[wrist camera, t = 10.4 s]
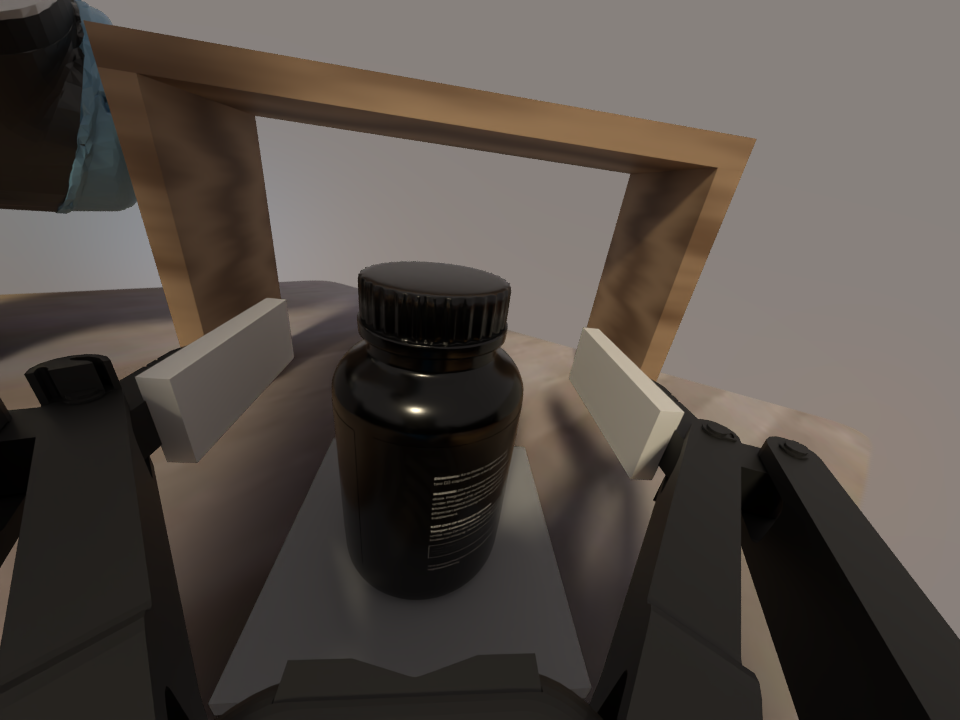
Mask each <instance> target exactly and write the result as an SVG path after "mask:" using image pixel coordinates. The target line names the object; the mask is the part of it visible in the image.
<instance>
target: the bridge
mask: <svg viewBox="0 0 960 720" xmlns="http://www.w3.org/2000/svg"><path fill="white" fill-rule="evenodd" d="M83 21H84V25H85V28H86V31H87V35H88V38H89V41H90V45H91V48H92V51H93V55H94V58H95V62H96V65H97V68H98V72H99V75H100V78H101V82H102V85H103V88H104V92H105V95H106V98H107V102H108V105H109V108H110V112H111V115H112V119H113V122H114V125H115V129H116V132H117V135H118V139H119V142H120V145H121V149H122V152H123V155H124V159H125V162H126V165H127V169H128V172H129V176H130V179H131V182H132V186H133V189H134V192H135V196H136V199H137V202H138V206H139V209H140V212H141V216H142V219H143V222H144V226H145V229H146V232H147V236H148V239H149V242H150V246H151V249H152V253H153V256H154V259H155V263H156V266H157V269H158V273H159V276H160V279H161V283H162V286H163V290H164V293H165V296H166V300H167V303H168V306H169V310H170V313H171V316H172V320H173V323H174V326H175V330H176V333H177V336H178V340H179V343H180V347H184V346H187V345H189V344H191V343H192V342H194V341H196V340H197V339H199V338H201V337H202V336H204V335H206V334H207V333H209V332H211V331H212V330H214V329H216V328H217V327H219V326H221V325H222V324H224V323H226V322H227V321H229V320H231V319H232V318H234V317H236V316H237V315H239V314H241V313H242V312H244V311H246V310H247V309H249V308H251V307H252V306H254V305H256V304H257V303H259V302H261V301H262V300H264V299H266V298H275V299H281V296H280V289H279V282H278V275H277V268H276V260H275V254H274V247H273V239H272V232H271V226H270V219H269V212H268V205H267V198H266V190H265V183H264V176H263V169H262V162H261V155H260V148H259V142H258V134H257V127H256V121H255V116H261V117H267V118H274V119H280V120H286V121H293V122H299V123H305V124H312V125H318V126H326V127H332V128H338V129H344V130H351V131H357V132H364V133H371V134H377V135H383V136H390V137H396V138H402V139H409V140H415V141H422V142H428V143H435V144H441V145H448V146H455V147H461V148H467V149H474V150H481V151H487V152H494V153H499V154H506V155H513V156H519V157H526V158H532V159H538V160H545V161H551V162H558V163H564V164H571V165H578V166H584V167H590V168H596V169H603V170H609V171H616V172H622V173H629V174H630V178H629V181H628V185H627V188H626V192H625V195H624V199H623V202H622V206H621V209H620V213H619V216H618V220H617V223H616V227H615V231H614V234H613V238H612V241H611V244H610V248H609V251H608V255H607V258H606V262H605V266H604V269H603V273H602V276H601V279H600V283H599V286H598V290H597V294H596V297H595V300H594V304H593V307H592V311H591V315H590V318H589V322H588V325H587V328H595V329H599V330H600V331H601V332H602V333H603V334H604V335H605V336H606V337H607V338H608V339H610V340H611V341H612V342H613V343H614V344H615V345H616V346H617V347H618V348H619V349H620V350H621V351H622V352H623V353H624V354H625V355H626V356H627V357H628V358H629V359H630V360H631V361H632V362H633V363H634V364H635V365H636V366H637V367H638V368H639V369H640V370H641V371H642V372H643V373H644V374H645V375H647V376H648V377H649V378H650V379H652V380H654V381H655V382H656V381H657V378H658V376H659V373H660V371H661V368H662V366H663V364H664V361H665V359H666V356H667V354H668V352H669V349H670V347H671V344H672V342H673V340H674V337H675V335H676V332H677V330H678V327H679V325H680V323H681V320H682V318H683V315H684V313H685V310H686V308H687V306H688V303H689V301H690V299H691V296H692V294H693V291H694V289H695V286H696V284H697V282H698V279H699V277H700V274H701V272H702V270H703V267H704V265H705V262H706V260H707V258H708V255H709V253H710V250H711V248H712V245H713V243H714V240H715V238H716V236H717V233H718V231H719V229H720V226H721V224H722V221H723V219H724V217H725V214H726V212H727V209H728V207H729V204H730V202H731V200H732V197H733V195H734V192H735V190H736V188H737V185H738V183H739V180H740V178H741V175H742V173H743V171H744V168H745V166H746V163H747V161H748V159H749V156H750V154H751V151H752V149H753V147H754V144H755V142H756V139H753V138H748V137H742V136H737V135H731V134H725V133H720V132H714V131H708V130H703V129H697V128H691V127H686V126H680V125H674V124H668V123H663V122H657V121H652V120H646V119H640V118H635V117H629V116H623V115H618V114H612V113H606V112H600V111H595V110H589V109H583V108H578V107H572V106H567V105H560V104H555V103H550V102H543V101H538V100H532V99H527V98H521V97H515V96H510V95H504V94H499V93H493V92H487V91H481V90H476V89H470V88H465V87H459V86H453V85H447V84H442V83H436V82H430V81H425V80H419V79H413V78H408V77H402V76H397V75H391V74H385V73H380V72H374V71H368V70H362V69H357V68H351V67H346V66H340V65H334V64H328V63H322V62H317V61H312V60H306V59H300V58H295V57H289V56H283V55H278V54H272V53H266V52H261V51H255V50H249V49H244V48H238V47H232V46H227V45H221V44H215V43H210V42H204V41H198V40H193V39H187V38H181V37H175V36H170V35H164V34H159V33H153V32H147V31H142V30H136V29H130V28H125V27H118V26H113V25H108V24H102V23H96V22H91V21H85V20H83Z"/></svg>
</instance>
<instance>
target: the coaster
mask: <svg viewBox="0 0 960 720" xmlns="http://www.w3.org/2000/svg"><path fill="white" fill-rule="evenodd" d="M524 653H535V656H536V662H537V667H538V673H539V674H541V675H544V676H547V677H549V678H551V679H553V680H555V681H557V682H559V683H561V684H563V685H564V686H566V687H567V688H569V689H570V690H572V691H573V692H575V693H576V694H577V695H578V696H579V697H581V698H586V697H587V695H588V693H589V692H590V690H591V684H590V680H589V677H588V673H587V670H586V666H585V662H584V659H583V655H582V652H581V648H580V644H579V641H578V637H577V634H576V630H575V626H574V623H573V619H572V616H571V612H570V608H569V605H568V601H567V598H566V594H565V590H564V587H563V583H562V580H561V576H560V572H559V569H558V565H557V562H556V558H555V554H554V551H553V547H552V544H551V540H550V536H549V533H548V529H547V526H546V522H545V518H544V515H543V511H542V508H541V504H540V501H539V497H538V493H537V490H536V486H535V483H534V479H533V475H532V472H531V468H530V465H529V461H528V457H527V454H526V450H525V447H517V446H514V448H513V454H512V459H511V464H510V469H509V474H508V479H507V484H506V489H505V494H504V499H503V505H502V510H501V515H500V520H499V525H498V529H497V533H496V538H495V542H494V545H493V548H492V551H491V553H490V556H489V558H488V560H487V561H486V563H485V564H484V566H483V567H482V568H481V570H480V571H479V572H478V573H477V574H476V575H475V576H474V577H473V578H472V579H471V580H470V581H469V582H468V583H466V584H465V585H464V586H462V587H461V588H459V589H457V590H455V591H453V592H451V593H449V594H446V595H444V596H440V597H437V598H432V599H427V600H407V599H400V598H396V597H392V596H390V595H387V594H385V593H383V592H380V591H379V590H377V589H375V588H374V587H372V586H371V585H370V584H369V583H367V582H366V581H365V580H364V579H363V577H362V576H361V575H360V574H359V573H358V571H357V570H356V568H355V567H354V565H353V563H352V561H351V558H350V556H349V552H348V548H347V542H346V534H345V527H344V517H343V507H342V497H341V487H340V477H339V466H338V456H337V446H336V438H333V440H332V442H331V444H330V446H329V449H328V451H327V453H326V455H325V457H324V459H323V461H322V463H321V466H320V468H319V470H318V472H317V474H316V476H315V478H314V480H313V483H312V485H311V487H310V489H309V491H308V493H307V495H306V497H305V500H304V502H303V504H302V506H301V508H300V510H299V512H298V514H297V516H296V519H295V521H294V523H293V525H292V527H291V529H290V531H289V533H288V536H287V538H286V540H285V542H284V544H283V546H282V548H281V550H280V553H279V555H278V557H277V559H276V561H275V563H274V565H273V567H272V570H271V572H270V574H269V576H268V578H267V580H266V582H265V584H264V586H263V589H262V591H261V593H260V595H259V597H258V599H257V601H256V603H255V606H254V608H253V610H252V612H251V614H250V616H249V618H248V620H247V623H246V625H245V627H244V629H243V631H242V633H241V635H240V637H239V640H238V642H237V644H236V646H235V648H234V650H233V652H232V654H231V656H230V659H229V661H228V663H227V665H226V667H225V669H224V671H223V673H222V676H221V678H220V680H219V682H218V684H217V686H216V688H215V690H214V693H213V695H212V697H211V699H210V701H209V703H208V705H209V707H210V709H211V710H212V712H213V714H214V715H222V714H223V713H225V712H226V711H227V710H229V709H230V708H231V707H233V706H235V705H236V704H238V703H240V702H241V701H243V700H244V699H246V698H248V697H249V696H251V695H253V694H255V693H257V692H259V691H261V690H264V689H266V688H268V687H270V686H273V685H275V684H278V683H280V681H281V678H282V675H283V672H284V669H285V667H286V664H287V661H288V660H312V659H347V658H353V659H356V660H359V661H362V662H366V663H369V664H372V665H375V666H378V667H382V668H385V669H388V670H391V671H394V672H397V673H401V674H404V675H407V676H411V677H418V676H422V675H425V674H427V673H430V672H433V671H436V670H438V669H441V668H444V667H447V666H449V665H452V664H455V663H457V662H460V661H463V660H466V659H468V658H471V657H474V656H476V655H489V654H524Z"/></svg>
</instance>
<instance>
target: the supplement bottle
mask: <svg viewBox="0 0 960 720" xmlns="http://www.w3.org/2000/svg"><path fill="white" fill-rule="evenodd" d="M358 294H359V312H358V315H357V323H358V332H359V334H360V336H361V337H362V338H363V340H361V341H359V342H358V343H356V344H355V345H354V346H353V347H351V348H350V349H349V350H348V351H347V352H346V354H345V355H344V356H343V357H342V359H341V360H340V362H339V364H338V366H337V368H336V370H335V372H334V375H333V379H332V405H333V416H334V426H335V436H336V446H337V456H338V466H339V477H340V487H341V497H342V507H343V517H344V527H345V534H346V542H347V548H348V552H349V556H350V558H351V561H352V563H353V565H354V567H355V568H356V570H357V571H358V573H359V574H360V575H361V576H362V577H363V579H364V580H365V581H366V582H367V583H369V584H370V585H371V586H372V587H374V588H375V589H377V590H379V591H380V592H383V593H385V594H387V595H390V596H392V597H396V598H400V599H407V600H427V599H432V598H437V597H440V596H444V595H446V594H449V593H451V592H453V591H455V590H457V589H459V588H461V587H462V586H464V585H465V584H466V583H468V582H469V581H470V580H471V579H472V578H473V577H474V576H475V575H476V574H477V573H478V572H479V571H480V570H481V568H482V567H483V566H484V564H485V563H486V561H487V560H488V558H489V556H490V553H491V551H492V548H493V545H494V542H495V538H496V533H497V529H498V525H499V520H500V515H501V510H502V505H503V499H504V494H505V489H506V484H507V479H508V474H509V469H510V464H511V459H512V454H513V448H514V443H515V438H516V433H517V428H518V423H519V418H520V413H521V407H522V400H523V382H522V378H521V375H520V372H519V370H518V368H517V366H516V364H515V363H514V361H513V360H512V358H511V357H510V356H509V355H508V354H507V353H506V352H505V351H504V350H503V349H502V348H501V346H502V345H503V343H504V342H505V339H506V334H507V322H506V321H507V315H508V308H509V302H510V295H511V287H510V284H509V283H508V282H506V280H505V279H502V278H501V277H500V276H496V275H494V274H492V273H489V272H486V271H483V270H478V269H474V268H470V267H465V266H460V265H453V264H444V263H433V262H416V261H413V262H412V261H411V262H406V261H405V262H403V261H402V262H389V263H381V264H376V265H372V266H370V267H365V269H363V270H361V271H360V274H359V276H358Z"/></svg>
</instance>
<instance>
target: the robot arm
mask: <svg viewBox="0 0 960 720" xmlns="http://www.w3.org/2000/svg"><path fill="white" fill-rule="evenodd" d="M83 20H85V21H91V22H96V23H102V24H108V25H112V23H111V21H110V19H109V18H108V17H107V16H106V15H105V14H104V13H103V12H101V11H99V10H98V9H95V8H93V7H91V6H89V5H88V4H87V3H86V2H82V1H81V0H0V209H14V210H15V209H16V210H31V211H49V212H56V213H65V214H66V213H69V212H71V211H121V210H125V209H126V208H129V207H132V206H133V205H134V204H135V203H136V202H137V199H136V196H135V192H134V189H133V186H132V182H131V179H130V176H129V172H128V169H127V165H126V162H125V159H124V155H123V152H122V149H121V145H120V142H119V139H118V135H117V132H116V129H115V125H114V122H113V119H112V115H111V112H110V108H109V105H108V102H107V98H106V95H105V92H104V88H103V85H102V82H101V78H100V75H99V72H98V68H97V65H96V62H95V58H94V55H93V51H92V48H91V45H90V41H89V38H88V35H87V31H86V28H85V25H84V21H83ZM293 358H294V353H293V346H292V338H291V331H290V323H289V316H288V309H287V301H286V299H275V298H266V299H264V300H262V301H261V302H259V303H257V304H256V305H254V306H252V307H251V308H249V309H247V310H246V311H244V312H242V313H241V314H239V315H237V316H236V317H234V318H232V319H231V320H229V321H227V322H226V323H224V324H222V325H221V326H219V327H217V328H216V329H214V330H212V331H211V332H209V333H207V334H206V335H204V336H202V337H201V338H199V339H197V340H196V341H194V342H192V343H191V344H189V345H187V346H184V347H181V348H178V349H175V350H172V351H170V352H168V353H166V354H165V355H163V356H161V357H159V358H158V360H154V361H153V362H151V363H149V364H147V366H146V367H142V368H141V369H139V370H137V371H135V372H134V373H132V374H130V375H129V376H127V377H125V378H123V379H122V380H120V381H119V380H118V377H117V375H116V373H115V370H114V368H113V365H112V363H111V360H110V359H109V358H108V357H107V356H103V355H96V354H84V355H73V356H67V357H62V358H57V359H53V360H50V361H47V362H43V363H40V364H38V365H36V366H34V367H32V368H30V369H29V370H28V371H27V372H26V373H25V374H24V375H25V377H26V378H27V380H28V382H29V384H30V386H31V387H32V389H33V391H34V393H35V395H36V397H37V398H38V400H39V402H40V404H41V407H38V408H28V409H18V410H7V408H6V407H5V405H4V403H3V402H2V400H1V398H0V567H1V565H2V564H3V562H4V561H5V559H6V557H7V556H8V554H9V552H10V551H11V549H12V547H13V546H14V544H15V542H16V541H17V539H18V537H19V540H18V546H17V552H16V557H15V563H14V569H13V575H12V581H11V587H10V593H9V599H8V605H7V611H6V617H5V622H4V628H3V634H2V640H1V646H0V720H208V718H207V715H206V712H205V709H204V707H203V704H202V700H201V697H200V693H199V689H198V684H197V679H196V674H195V670H194V665H193V660H192V655H191V650H190V645H189V640H188V635H187V630H186V625H185V620H184V615H183V610H182V605H181V600H180V595H179V590H178V585H177V580H176V575H175V570H174V565H173V560H172V555H171V550H170V545H169V540H168V535H167V530H166V525H165V520H164V515H163V510H162V505H161V500H160V495H159V491H158V486H157V481H156V476H155V471H154V466H153V463H152V461H151V458H150V455H151V454H152V453H153V452H154V451H155V450H156V449H158V448H159V447H160V446H161V447H162V450H163V452H164V455H165V457H166V460H167V462H180V463H198V462H199V460H200V459H201V458H202V457H203V456H204V455H205V454H206V453H207V452H208V451H209V450H210V449H211V447H212V446H213V445H214V444H215V443H216V442H217V441H218V440H219V439H220V438H221V437H222V436H223V434H224V433H225V432H226V431H227V430H228V429H229V428H230V427H231V426H232V425H233V424H234V422H235V421H236V420H237V419H238V418H239V417H240V416H241V415H242V414H243V413H244V412H245V411H246V409H247V408H248V407H249V406H250V405H251V404H252V403H253V402H254V401H255V400H256V399H257V398H258V396H259V395H260V394H261V393H262V392H263V391H264V390H265V389H266V388H267V387H268V386H269V385H270V383H271V382H272V381H273V380H274V379H275V378H276V377H277V376H278V375H279V374H280V373H281V371H282V370H283V369H284V368H285V367H286V366H287V365H288V364H289V363H290V362H291V361H292V360H293ZM569 379H570V381H571V382H572V384H573V386H574V387H575V389H576V391H577V392H578V394H579V396H580V397H581V399H582V401H583V402H584V404H585V405H586V407H587V409H588V410H589V412H590V414H591V415H592V417H593V419H594V420H595V422H596V424H597V425H598V427H599V428H600V430H601V432H602V433H603V435H604V437H605V438H606V440H607V442H608V443H609V445H610V447H611V448H612V450H613V451H614V453H615V455H616V456H617V458H618V460H619V461H620V463H621V465H622V466H623V468H624V470H625V471H626V473H627V474H628V476H629V478H630V479H635V480H652V479H653V477H654V475H655V473H656V471H657V469H658V466H659V467H660V468H661V469H662V471H663V472H664V473H665V477H664V479H663V481H662V483H661V485H660V487H659V489H658V491H657V493H656V495H655V497H654V499H653V501H655V505H654V509H653V512H652V515H651V518H650V521H649V525H648V528H647V531H646V534H645V537H644V541H643V544H642V547H641V550H640V553H639V557H638V560H637V563H636V566H635V569H634V573H633V576H632V579H631V582H630V586H629V589H628V592H627V595H626V598H625V602H624V605H623V608H622V611H621V614H620V618H619V621H618V624H617V627H616V630H615V634H614V637H613V640H612V643H611V646H610V650H609V653H608V656H607V659H606V662H605V666H604V669H603V672H602V675H601V678H600V680H599V683H598V686H597V688H596V690H595V693H594V695H593V697H592V700H591V702H590V705H589V704H588V703H587V702H585V701H584V700H583V699H582V698H581V697H579V696H578V695H577V694H576V693H575V692H573V691H572V690H570V689H569V688H567V687H566V686H564V685H563V684H561V683H559V682H557V681H555V680H553V679H551V678H549V677H547V676H544V675H541V674H539V673H538V667H537V662H536V656H535V653H524V654H489V655H476V656H474V657H471V658H468V659H466V660H463V661H460V662H457V663H455V664H452V665H449V666H447V667H444V668H441V669H438V670H436V671H433V672H430V673H427V674H425V675H422V676H418V677H411V676H407V675H404V674H401V673H397V672H394V671H391V670H388V669H385V668H382V667H378V666H375V665H372V664H369V663H366V662H362V661H359V660H356V659H353V658H347V659H312V660H288V661H287V664H286V667H285V669H284V672H283V675H282V678H281V681H280V683H278V684H275V685H273V686H270V687H268V688H266V689H264V690H261V691H259V692H257V693H255V694H253V695H251V696H249V697H248V698H246V699H244V700H243V701H241V702H240V703H238V704H236V705H235V706H233V707H231V708H230V709H229V710H227V711H226V712H225V713H223V714H222V715H221V716H219V717H218V718H216V719H215V720H763V717H762V697H761V690H760V684H759V681H758V679H757V677H756V675H755V673H753V672H752V671H750V670H749V669H747V668H746V667H744V666H743V665H742V662H741V547H742V550H743V553H744V556H745V559H746V562H747V565H748V568H749V571H750V574H751V577H752V580H753V583H754V586H755V589H756V592H757V595H758V598H759V601H760V604H761V607H762V610H763V613H764V616H765V619H766V622H767V625H768V628H769V631H770V634H771V637H772V640H773V643H774V646H775V649H776V652H777V655H778V658H779V661H780V664H781V667H782V670H783V673H784V676H785V679H786V682H787V685H788V688H789V691H790V694H791V697H792V700H793V703H794V706H795V709H796V712H797V715H798V718H799V720H960V639H959V638H958V637H957V635H956V634H955V633H954V631H953V630H952V629H951V628H950V626H949V625H948V624H947V622H946V621H945V620H944V618H943V617H942V616H941V615H940V613H939V612H938V611H937V609H936V608H935V607H934V605H933V604H932V603H931V602H930V600H929V599H928V598H927V596H926V595H925V594H924V593H923V591H922V590H921V589H920V587H919V586H918V585H917V583H916V582H915V581H914V579H913V578H912V577H911V576H910V575H909V573H908V572H907V570H906V569H905V568H904V566H903V565H902V564H901V563H900V561H899V560H898V559H897V557H896V556H895V555H894V554H893V552H892V551H891V550H890V548H889V547H888V546H887V544H886V543H885V542H884V541H883V539H882V538H881V537H880V535H879V534H878V533H877V531H876V530H875V529H874V528H873V527H872V525H871V524H870V522H869V521H868V520H867V518H866V517H865V516H864V515H863V513H862V512H861V511H860V509H859V508H858V507H857V505H856V504H855V503H854V502H853V500H852V499H851V498H850V496H849V495H848V494H847V492H846V491H845V490H844V489H843V487H842V486H841V485H840V483H839V482H838V481H837V479H836V478H835V477H834V476H833V474H832V473H831V472H830V470H829V469H828V468H827V466H826V465H825V464H824V463H823V461H822V460H821V459H820V458H819V457H818V456H817V455H816V454H815V453H814V452H812V451H811V450H809V449H808V448H807V447H806V446H804V445H802V444H799V443H798V442H796V441H793V440H788V439H785V438H781V437H769V438H767V439H766V441H765V442H764V444H763V446H762V447H761V448H758V447H754V446H750V445H746V444H742V443H741V441H740V439H739V437H738V436H737V435H736V434H735V433H734V432H733V431H731V430H730V429H728V428H726V427H725V426H722V425H720V424H718V423H716V422H712V421H709V420H703V419H697V418H696V417H695V416H694V415H693V414H692V413H691V412H690V411H689V410H688V409H687V408H686V407H685V406H684V405H683V404H681V403H680V402H678V400H677V399H676V398H675V397H674V396H672V395H671V393H670V392H669V391H668V390H667V389H666V388H665V387H664V386H662V385H660V384H659V383H657V382H655V381H654V380H652V379H650V378H649V377H648V376H647V375H645V374H644V373H643V372H642V371H641V370H640V369H639V368H638V367H637V366H636V365H635V364H634V363H633V362H632V361H631V360H630V359H629V358H628V357H627V356H626V355H625V354H624V353H623V352H622V351H621V350H620V349H619V348H618V347H617V346H616V345H615V344H614V343H613V342H612V341H611V340H610V339H608V338H607V337H606V336H605V335H604V334H603V333H602V332H601V331H600V330H599V329H595V328H583V330H582V334H581V337H580V340H579V344H578V348H577V351H576V355H575V358H574V362H573V365H572V369H571V373H570V376H569Z"/></svg>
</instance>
